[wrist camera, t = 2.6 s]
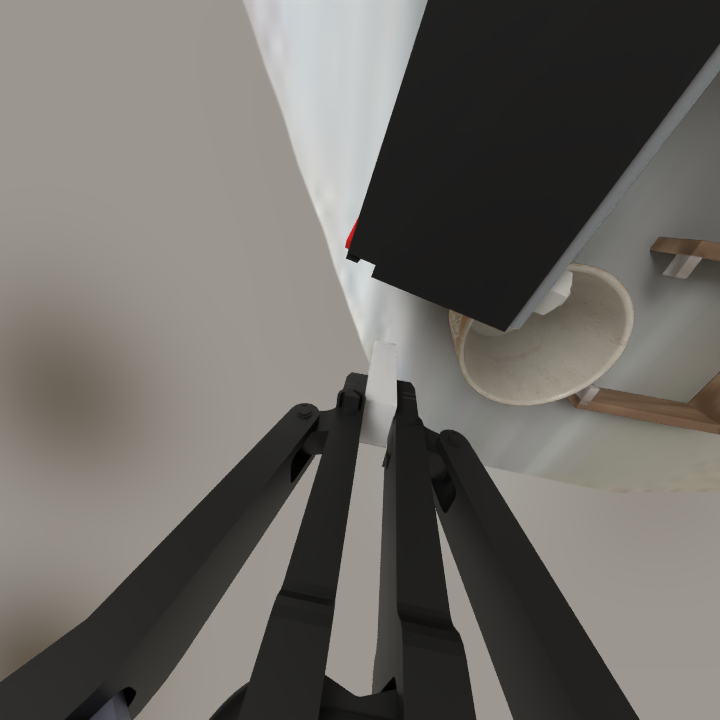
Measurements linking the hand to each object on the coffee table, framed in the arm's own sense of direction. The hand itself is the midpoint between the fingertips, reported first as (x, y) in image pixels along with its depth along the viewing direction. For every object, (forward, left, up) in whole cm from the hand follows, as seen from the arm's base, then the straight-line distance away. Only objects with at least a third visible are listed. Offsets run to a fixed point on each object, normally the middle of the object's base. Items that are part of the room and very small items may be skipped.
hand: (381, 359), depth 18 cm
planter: (-1, +13, -15) cm, 20 cm away
